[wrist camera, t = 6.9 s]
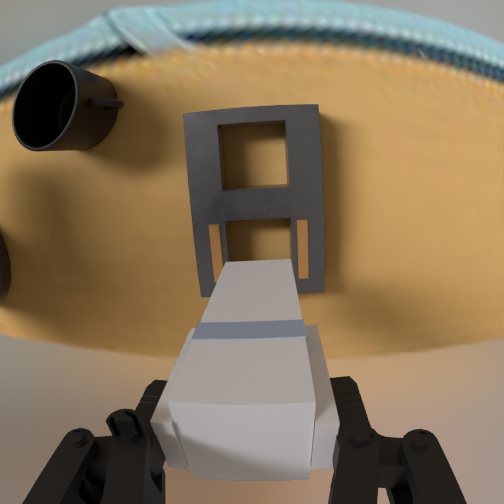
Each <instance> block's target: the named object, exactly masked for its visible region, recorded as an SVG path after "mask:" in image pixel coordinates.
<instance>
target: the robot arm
mask: <svg viewBox="0 0 504 504" xmlns="http://www.w3.org/2000/svg"><path fill="white" fill-rule="evenodd" d="M9 284H10V264H9V258H8V254H7V250H6V247H5V244H4V241H3V239H2V237H1V235H0V299H2V298H3V297H4V296H5V295H6V293H7V291H8V288H9ZM195 329H196V328H191V330H190V332H189V334H188V336H187V339H186V341H185V343H184V345H183V348H182V350H181V352H180V354H179V357H178V359H177V361H176V363H175V366H174V368H173V370H172V372H171V375H170V377H169V379H168V381H164V380H154V381H153V382H152V383H151V384H150V385H148V386H147V388H146V390H145V392H144V394H143V396H142V398H141V400H140V403H139V404H138V406H137V408H136V410H135V411H134V410H132V409H120V410H117V411H115V412H113V413H111V414H110V415H109V416H108V418H107V420H106V423H107V425H108V427H109V429H110V431H111V433H112V436H105V437H104V436H103V437H94V435H93V434H92V433H91V431H89V430H87V429H83V428H78V429H74V430H72V431H70V432H68V433H67V434H66V436H65V437H64V438H63V440H62V441H61V443H60V445H59V446H58V447H57V449H56V450H55V452H54V454H53V455H52V457H51V458H50V460H49V461H48V463H47V464H46V466H45V468H44V469H43V471H42V472H41V474H40V476H39V477H38V479H37V481H36V482H35V484H34V485H33V487H32V489H31V490H30V492H29V493H28V495H27V497H26V499H25V500H24V502H23V504H165V472H164V469H163V465H164V461H165V460H166V462H167V464H168V466H169V467H174V468H183V469H187V468H188V462H187V459H186V456H185V454H184V451H183V448H182V445H181V442H180V439H179V436H178V434H177V431H176V427H175V424H174V421H173V418H172V415H171V412H170V409H169V405H168V402H167V401H168V399H169V396H170V394H171V391H172V389H173V386H174V384H175V381H176V379H177V376H178V374H179V372H180V369H181V367H182V364H183V362H184V359H185V357H186V355H187V352H188V350H189V347H190V345H191V343H192V340H191V338H192V336H193V334H194V331H195ZM305 330H306V344H307V350H308V356H309V362H310V368H311V374H312V381H313V387H314V393H315V400H316V407H315V420H314V432H313V442H312V453H311V462H310V464H311V470H322V469H331V468H332V463H333V467H334V474H333V478H332V483H331V490H330V495H329V501H328V504H377V496H378V487H379V488H386V491H387V495H388V498H389V502H390V504H467V503H466V501H465V499H464V496H463V494H462V492H461V489H460V487H459V485H458V483H457V480H456V478H455V476H454V474H453V471H452V469H451V467H450V465H449V463H448V460H447V458H446V456H445V454H444V452H443V450H442V448H441V446H440V444H439V442H438V440H437V438H436V437H435V436H434V434H433V433H431V432H429V431H427V430H423V429H416V430H412V431H410V432H408V433H407V434H406V435H404V437H403V438H392V437H385V436H382V435H379V434H378V433H377V432H376V431H375V430H374V429H372V428H371V426H370V423H369V421H368V417H367V414H366V411H365V408H364V405H363V402H362V398H361V396H360V393H359V389H358V386H357V383H356V382H355V381H354V380H353V379H352V378H350V376H347V377H336V378H329V373H328V369H327V365H326V361H325V357H324V353H323V349H322V344H321V340H320V336H319V332H318V328H317V325H305Z"/></svg>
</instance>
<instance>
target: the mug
mask: <svg viewBox="0 0 504 504" xmlns="http://www.w3.org/2000/svg"><path fill="white" fill-rule="evenodd" d="M123 105H124V103H123V102H122V101H121V100H119V99H118V98H117V95H116V91H115V89H114V87H113V86H112V84H111V83H110V82H109V81H108V80H107V79H105V78H103V77H101V76H98V75H96V74H94V73H91V72H89V71H86V70H84V69H81V68H79V67H76V66H74V65H71V64H69V63H66V62H63V61H59V60H53V61H48V62H45V63H43V64H41V65H39V66H37V67H36V68H35V69H33V70H32V71H31V72H30V73H29V74H28V75H27V77H26V78H25V79H24V81H23V82H22V84H21V85H20V87H19V89H18V92H17V94H16V97H15V100H14V104H13V109H12V125H13V130H14V133H15V136H16V138H17V139H18V141H19V142H20V144H21V145H23V146H24V147H25V148H27V149H29V150H32V151H63V150H86V149H89V148H92V147H94V146H96V145H97V144H99V143H100V142H101V141H102V140H103V139H104V138H105V137H106V136H107V135H108V134H109V132H110V131H111V129H112V127H113V125H114V123H115V120H116V117H117V112H118V109H120V108H122V107H123Z"/></svg>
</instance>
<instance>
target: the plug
mask: <svg viewBox="0 0 504 504" xmlns="http://www.w3.org/2000/svg"><path fill="white" fill-rule="evenodd" d="M191 340H192V343H191V345H190V347H189V350H188V352H187V355H186V357H185V359H184V362H183V364H182V367H181V369H180V372H179V374H178V376H177V379H176V381H175V384H174V386H173V389H172V391H171V394H170V396H169V399H168V401H167V402H168V405H169V409H170V412H171V415H172V418H173V421H174V424H175V427H176V431H177V434H178V436H179V439H180V442H181V445H182V448H183V451H184V454H185V456H186V459H187V462H188V465H189V467H190V470H191V472H192V475H193V478H202V479H216V480H234V481H283V480H304V479H309V471H310V462H311V453H312V442H313V432H314V420H315V407H316V400H315V393H314V387H313V381H312V374H311V368H310V362H309V356H308V350H307V344H306V330H305V325H304V320H303V319H302V316H301V310H300V305H299V299H298V294H297V289H296V283H295V278H294V273H293V268H292V263H291V259H280V260H259V261H237V262H225V265H224V267H223V269H222V272H221V274H220V276H219V279H218V281H217V283H216V286H215V288H214V290H213V293H212V295H211V297H210V300H209V302H208V304H207V307H206V309H205V312H204V314H203V316H202V319H201V321H200V322H198V324H197V327H196V329H195V331H194V334H193V336H192V338H191Z"/></svg>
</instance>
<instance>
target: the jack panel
mask: <svg viewBox="0 0 504 504" xmlns="http://www.w3.org/2000/svg"><path fill="white" fill-rule="evenodd" d="M183 116H184V132H185V146H186V159H187V172H188V183H189V194H190V205H191V215H192V224H193V234H194V243H195V251H196V260H197V268H198V276H199V284H200V291H201V297H211V295H212V293H213V290H214V288H215V286H216V283H217V281H218V279H219V276H220V274H221V272H222V269H223V267H224V265H225V262H233V260H232V248H231V236H230V224H229V221H238V220H255V219H274V218H289V229H290V256H291V263H292V268H293V273H294V278H295V283H296V289H297V293H313V292H324V198H323V171H322V151H321V135H320V120H319V107H318V104H307V105H274V106H256V107H242V108H231V109H220V110H211V111H202V112H194V113H187V114H183ZM275 124H284V135H285V151H286V167H287V184H281V185H262V186H246V187H231V188H227V187H226V174H225V160H224V146H223V132H222V128H230V127H243V126H257V125H275Z"/></svg>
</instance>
